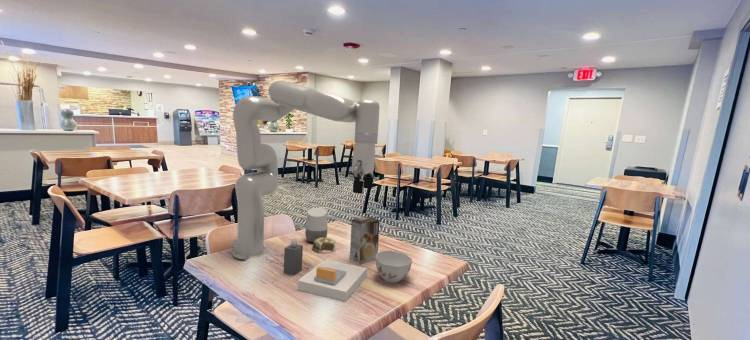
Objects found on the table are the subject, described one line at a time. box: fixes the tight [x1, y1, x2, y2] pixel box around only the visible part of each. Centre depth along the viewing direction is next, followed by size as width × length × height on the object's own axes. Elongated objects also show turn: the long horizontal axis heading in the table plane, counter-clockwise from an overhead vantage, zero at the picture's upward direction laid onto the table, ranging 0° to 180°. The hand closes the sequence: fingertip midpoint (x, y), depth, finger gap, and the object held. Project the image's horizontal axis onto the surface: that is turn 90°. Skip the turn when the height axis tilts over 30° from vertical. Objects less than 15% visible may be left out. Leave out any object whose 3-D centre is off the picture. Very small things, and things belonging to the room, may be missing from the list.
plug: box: [283, 238, 304, 277], centre depth 111 cm, size 4×5×11 cm
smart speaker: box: [304, 207, 328, 244], centre depth 143 cm, size 10×9×14 cm
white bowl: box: [374, 250, 413, 284], centre depth 112 cm, size 15×12×8 cm
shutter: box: [314, 266, 346, 285], centre depth 103 cm, size 7×8×4 cm
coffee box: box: [349, 216, 381, 266], centre depth 125 cm, size 9×6×16 cm
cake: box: [311, 236, 337, 254], centre depth 135 cm, size 10×10×5 cm
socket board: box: [297, 259, 368, 302], centre depth 106 cm, size 16×18×3 cm
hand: (362, 190), depth 109 cm, fingers open, 9 cm apart
